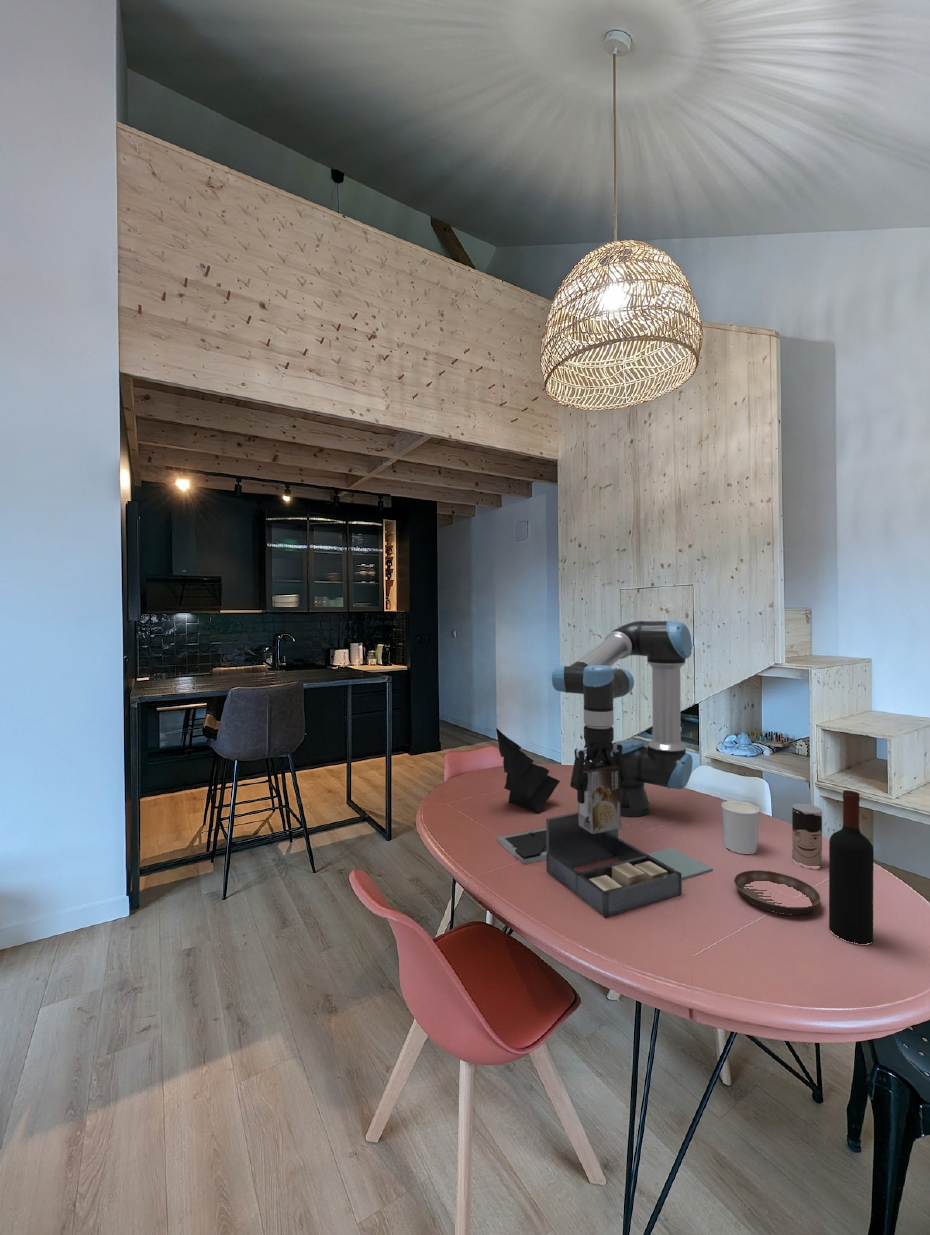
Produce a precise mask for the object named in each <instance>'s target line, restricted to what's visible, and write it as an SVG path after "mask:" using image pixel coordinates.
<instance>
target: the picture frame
mask: <svg viewBox="0 0 930 1235" xmlns="http://www.w3.org/2000/svg"><path fill="white" fill-rule="evenodd" d="M496 840H497V843H498V842H499V843H498V844H499V845H501V846H502V847H503V848H504V849H505V850H506V849H507V851H508V852H509V853H510V854H511V855H512V856H513V857H514V858H516V859H517V860H518V861H519V862H520V863H521V864H523V865H529V864H532V863H533V864H534V863H536V862H537V863H539V862H541V861H545V860H546V861H547V836H546V827H543V828H542V827H541V828H537V829H531V830H528V831H527V830H526V831H523V832H518V833H517V832H516V833H512V834H506V835H502V836H497V838H496Z"/></svg>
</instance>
